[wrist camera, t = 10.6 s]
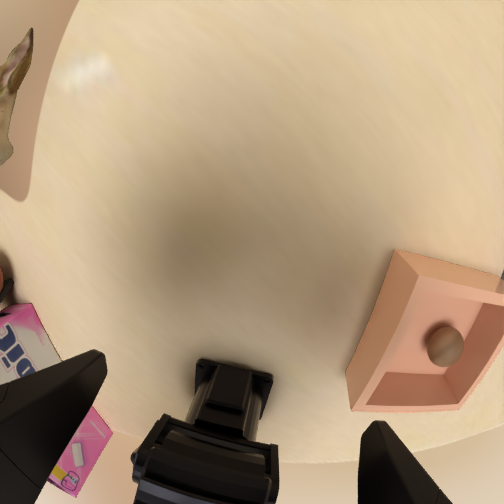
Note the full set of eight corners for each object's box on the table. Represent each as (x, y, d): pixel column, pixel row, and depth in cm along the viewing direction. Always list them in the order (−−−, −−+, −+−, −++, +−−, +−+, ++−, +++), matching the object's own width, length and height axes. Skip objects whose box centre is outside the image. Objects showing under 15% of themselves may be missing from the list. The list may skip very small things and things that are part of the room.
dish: (443, 376, 20) (459, 409, 16) (344, 369, 21) (350, 410, 17) (496, 274, 16) (526, 300, 12) (393, 247, 17) (418, 275, 13)
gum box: (3, 295, 26) (-64, 344, 13) (28, 290, 24) (-53, 351, 11) (82, 424, 33) (44, 480, 20) (115, 433, 31) (77, 499, 18)
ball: (427, 337, 20) (451, 360, 18) (413, 356, 18) (439, 381, 16) (449, 312, 18) (474, 336, 16) (438, 330, 16) (466, 358, 14)
